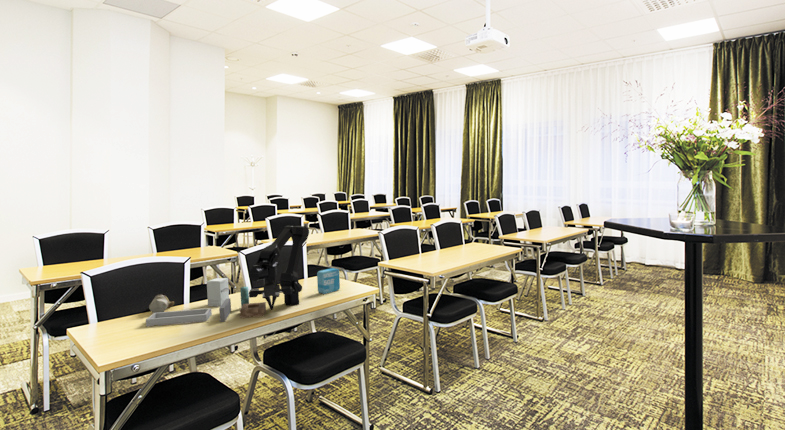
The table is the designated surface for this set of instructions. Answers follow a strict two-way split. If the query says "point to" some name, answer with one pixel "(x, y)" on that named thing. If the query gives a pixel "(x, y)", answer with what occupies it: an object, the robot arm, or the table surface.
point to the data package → (328, 280)
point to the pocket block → (253, 310)
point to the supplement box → (217, 291)
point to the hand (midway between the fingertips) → (271, 310)
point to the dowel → (244, 295)
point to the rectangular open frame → (179, 317)
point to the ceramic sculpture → (160, 304)
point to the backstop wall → (225, 310)
